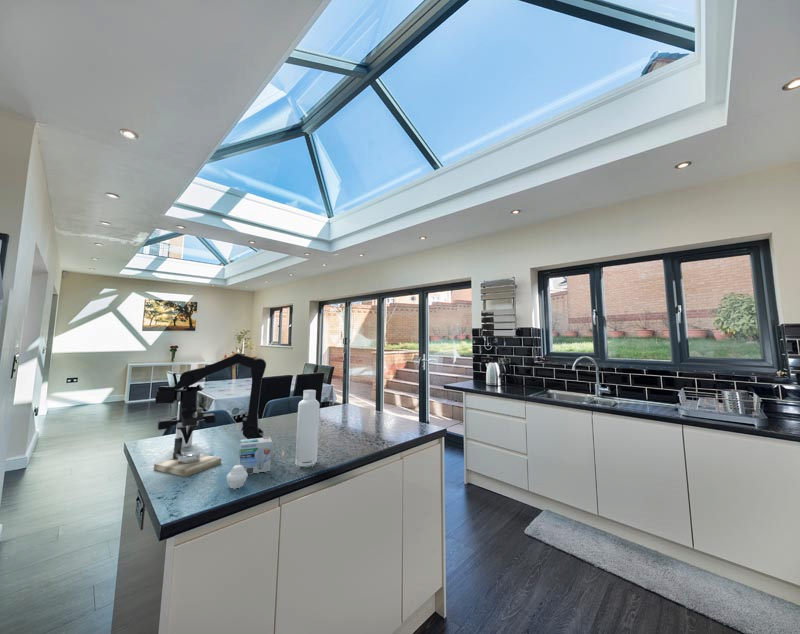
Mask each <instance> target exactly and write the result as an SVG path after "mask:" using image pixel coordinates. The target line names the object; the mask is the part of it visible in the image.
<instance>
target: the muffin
mask: <svg viewBox="0 0 800 634" xmlns="http://www.w3.org/2000/svg"><path fill="white" fill-rule="evenodd" d="M247 478H248V473H247V472H246V471H245V469H244V467H243V466H242V465H239V464H236V465H234V466H232V467H231V470H230V471H229V472H228V473H227V475H226V478H225V479H226V480H227V484H228V486H229V488H230V489H231V488H238V487H241V486H242V487H243V486H244V484H245V482H246V480H247ZM242 487H241V488H242Z"/></svg>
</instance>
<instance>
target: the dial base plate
mask: <svg viewBox="0 0 800 634" xmlns="http://www.w3.org/2000/svg"><path fill="white" fill-rule="evenodd" d="M221 463H222V457H219V456H213V455H212V456H211V455H207V454H202V453H200V460H198V461H196V462H193V463H187V464H180V463H178V458H173V456H172V457H171V458H169V459H167V460H162V461H159V462H157V463H154V464H153V471H157V470H158V472H163V473H167V474H172V475H176V476H180V477H186V478H187V477H189V476H192V475H195V474H196V473H200V472H202V471H205V470H206V469H210V468H213V467H216V466H217V465H220V464H221Z"/></svg>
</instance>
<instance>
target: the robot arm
mask: <svg viewBox="0 0 800 634" xmlns="http://www.w3.org/2000/svg"><path fill="white" fill-rule="evenodd" d="M237 364H239V365H242V366H244V367H247V368H249V369H250V371H251V372H250V374H251V387H250V388H251V389H250V396H249V404H248V411H247V412H248V413H247V417H243V418H242V420H241V421H242V427H241V429H240V431H241V432H242V435H243V436H244V438H246V439H255V438H264V435H265V433H264V430H262V429H261V427H260V422H259V414H258V413H259V406H260V399H261V398H260V397H261V388H262V380H263V377H264V374H265V371H266V368H267V362H266V360H265V359H263V358H261V357H260V358H259V357H258V358H253V357H250V356H247V355H244V354H243V353H235V354H233V355H232V356H229V357H226V358H224V359H221V360H219V361H216V362H214V363H212V364H209V365H207V366H203V367H198V368H193V369H190V370H187V371H185V372H182V373H181V375H180V376H179V380H178V382H177V383H176V384H174V385H173V386H171V385H169V386H166V385H160V386H158V389H157V391H156V395H155V399H154V401H155V404H156V405H174V404H176V403H177V402H180V409H179V420H177V419H171V418H161V419H158V420H157V424H156V427H157V430H158V431H161V430H168V429H170V428H171V427H172V426H175V428H177V429H180V430H181V431H182V434H183V437H184V440H185V443H186V444H187V443H188V441H189V438H190V436H191V433H192V432H193V433H194V430H195V429H196V428H198V427H199V423H201V422H204V423H205V424H212V423H216V421H217V419H216V418H217V417H216V415H215V414H214V413H213V412H212V413H204V410H198V394H199V393H198V392H203V390H204V387H202V386H201V384H198V382H200V381H202V380H203V379H205V378H207V377H209V376H210V375H212V374H215V373H217V372H219V371H222V370H225V369H227V368H230V367H231V366H234V365H237ZM196 383H197V385H196V386H193V385H194V384H196ZM184 387H187V388H186V389H184ZM186 426H188V428H187V427H186Z"/></svg>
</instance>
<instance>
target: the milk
mask: <svg viewBox="0 0 800 634" xmlns="http://www.w3.org/2000/svg"><path fill="white" fill-rule="evenodd" d="M177 402H178V403H177V414H176V415H177V416H176V420H179V409H180V401H177ZM186 427H187V428H188V426H186ZM175 428H176V427H175ZM193 433H194V431H193V432H192V433H191V436H190V438H189V441H188V443H187V444H186V443H185V440H184V437H183V434H182V431H181V430H180V429H177V428H176V429H175V438H180V437H181V438H182V448H189V447H193V446H192V445H193ZM175 438H174V439H175ZM188 446H189V447H188Z"/></svg>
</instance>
